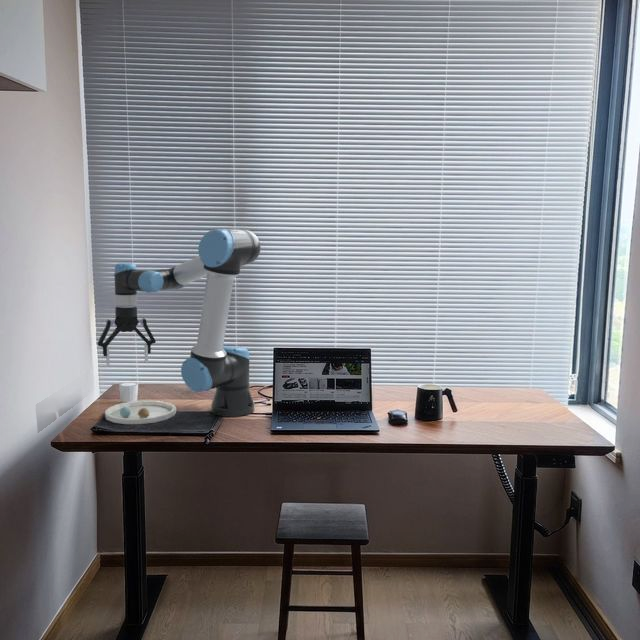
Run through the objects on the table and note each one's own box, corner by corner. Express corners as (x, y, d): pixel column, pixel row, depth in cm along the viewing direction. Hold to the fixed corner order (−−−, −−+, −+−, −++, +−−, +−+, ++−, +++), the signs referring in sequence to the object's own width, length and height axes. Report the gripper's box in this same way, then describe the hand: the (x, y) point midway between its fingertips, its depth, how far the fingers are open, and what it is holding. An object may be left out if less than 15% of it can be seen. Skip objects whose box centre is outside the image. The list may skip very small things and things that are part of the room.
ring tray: (168, 404, 232) (167, 398, 232) (182, 422, 212) (182, 414, 211) (101, 411, 223) (101, 404, 222) (110, 430, 202) (109, 422, 202)
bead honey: (148, 416, 214) (148, 406, 214) (150, 419, 211) (149, 409, 211) (137, 417, 213) (137, 407, 212) (139, 420, 210) (139, 410, 209)
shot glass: (139, 404, 233) (139, 385, 232) (120, 405, 230) (119, 387, 229) (137, 399, 239) (137, 381, 238) (118, 401, 237) (118, 382, 236)
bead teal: (130, 415, 215) (129, 405, 215) (131, 418, 212) (131, 407, 212) (119, 416, 214) (119, 406, 213) (120, 419, 211) (120, 408, 210)
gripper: (159, 303, 238) (159, 359, 242) (88, 305, 228) (90, 363, 231) (163, 306, 232) (163, 363, 235) (90, 308, 221) (92, 368, 224)
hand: (127, 363), depth 233 cm, fingers open, 13 cm apart
